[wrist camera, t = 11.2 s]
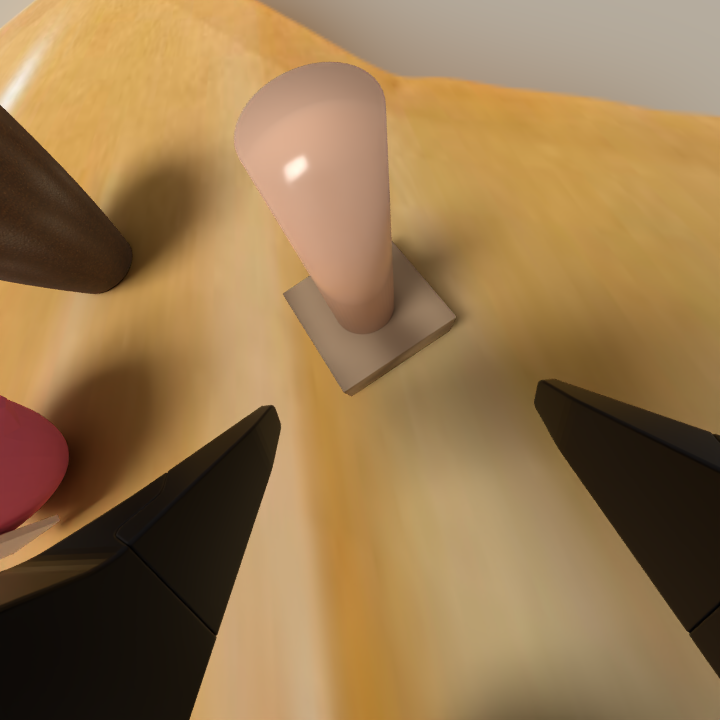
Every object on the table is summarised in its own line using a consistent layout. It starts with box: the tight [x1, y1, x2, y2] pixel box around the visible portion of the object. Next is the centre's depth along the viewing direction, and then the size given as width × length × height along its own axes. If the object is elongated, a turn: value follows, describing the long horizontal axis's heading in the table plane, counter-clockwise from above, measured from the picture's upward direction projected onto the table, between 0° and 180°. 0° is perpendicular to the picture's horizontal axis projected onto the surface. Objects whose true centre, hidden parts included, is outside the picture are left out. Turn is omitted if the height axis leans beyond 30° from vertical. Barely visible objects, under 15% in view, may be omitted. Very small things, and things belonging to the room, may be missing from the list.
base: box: [283, 241, 456, 396], centre depth 22 cm, size 10×10×3 cm
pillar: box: [234, 62, 394, 334], centre depth 14 cm, size 5×5×13 cm
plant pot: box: [0, 105, 132, 294], centre depth 22 cm, size 15×15×16 cm
